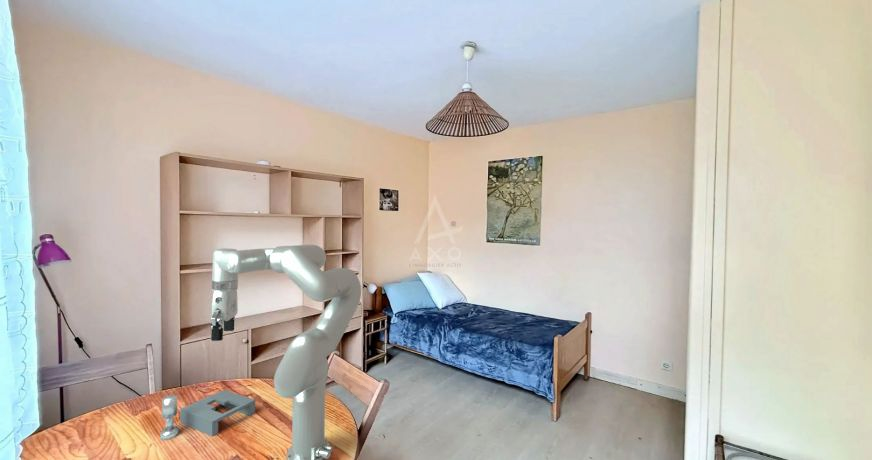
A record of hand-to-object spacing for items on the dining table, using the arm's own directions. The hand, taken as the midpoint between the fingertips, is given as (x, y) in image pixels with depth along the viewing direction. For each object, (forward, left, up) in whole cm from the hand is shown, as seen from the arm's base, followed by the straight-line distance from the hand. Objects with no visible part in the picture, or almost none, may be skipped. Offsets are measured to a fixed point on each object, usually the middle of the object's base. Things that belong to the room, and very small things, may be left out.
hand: (223, 335), depth 117 cm
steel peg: (+14, +9, -34) cm, 37 cm away
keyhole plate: (+10, -5, -34) cm, 35 cm away
